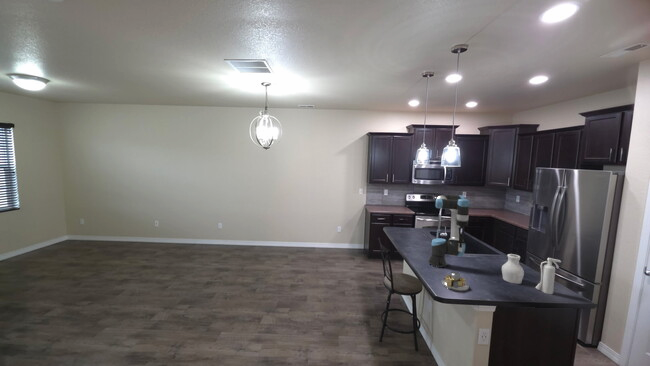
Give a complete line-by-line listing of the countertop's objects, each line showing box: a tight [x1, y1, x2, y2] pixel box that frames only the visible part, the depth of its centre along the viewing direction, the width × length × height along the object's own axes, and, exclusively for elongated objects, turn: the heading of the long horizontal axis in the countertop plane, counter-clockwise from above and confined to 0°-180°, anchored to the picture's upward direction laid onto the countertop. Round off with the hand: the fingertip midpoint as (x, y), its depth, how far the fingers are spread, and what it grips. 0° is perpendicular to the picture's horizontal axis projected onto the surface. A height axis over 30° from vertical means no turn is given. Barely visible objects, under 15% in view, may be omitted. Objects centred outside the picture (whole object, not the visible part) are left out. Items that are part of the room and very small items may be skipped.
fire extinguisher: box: [535, 257, 562, 295], centre depth 183 cm, size 7×12×25 cm, turn 65°
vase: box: [501, 253, 525, 285], centre depth 201 cm, size 14×14×20 cm
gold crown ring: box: [444, 274, 466, 287], centre depth 188 cm, size 17×12×5 cm
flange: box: [441, 271, 470, 292], centre depth 189 cm, size 18×18×9 cm
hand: (460, 251), depth 190 cm, fingers closed
